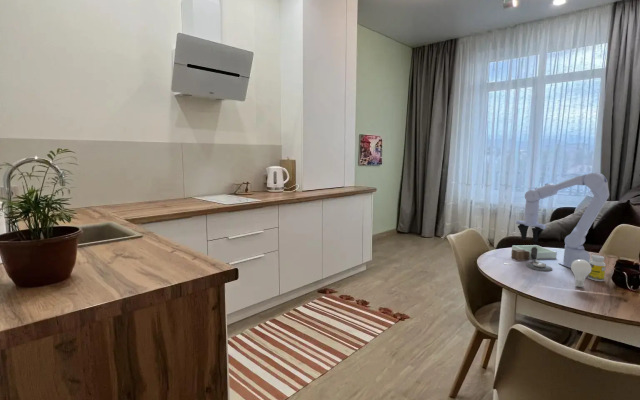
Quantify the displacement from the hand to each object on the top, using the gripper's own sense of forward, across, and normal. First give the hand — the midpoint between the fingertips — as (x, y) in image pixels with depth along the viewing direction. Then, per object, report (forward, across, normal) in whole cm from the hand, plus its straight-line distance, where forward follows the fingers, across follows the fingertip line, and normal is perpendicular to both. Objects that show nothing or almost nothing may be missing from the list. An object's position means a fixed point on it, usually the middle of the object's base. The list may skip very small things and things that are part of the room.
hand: (529, 240), depth 172 cm
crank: (+9, -13, +10) cm, 19 cm away
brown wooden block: (+7, -1, +3) cm, 7 cm away
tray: (+9, +2, -7) cm, 11 cm away
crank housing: (+9, -13, +10) cm, 19 cm away
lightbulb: (+9, -36, +19) cm, 42 cm away
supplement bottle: (+9, -32, +3) cm, 34 cm away
